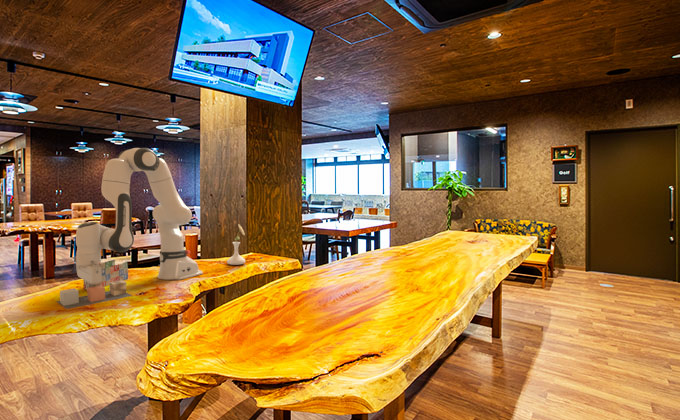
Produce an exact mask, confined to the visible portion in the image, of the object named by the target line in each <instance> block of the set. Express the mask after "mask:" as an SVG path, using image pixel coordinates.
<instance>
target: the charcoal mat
mask: <svg viewBox="0 0 680 420" xmlns="http://www.w3.org/2000/svg"><path fill="white" fill-rule="evenodd" d="M129 297H133V294H130V293H128V292H127V291H126V293H125V294H120V295H115V296H114V295H112V294H110V290H109V291H105V299H104V300H99V301H94V302H90V301H89V300H88V299H87V295H82V296H79V303H75V304H70V305H65V306H64V305H62V304H61V303H60V300H56V303H58V304H59V305H60V306H61V307H63V308H64V309H65V310H70V309H75V308H81V307H84V306H89V305H93V304H99V303H104V302H108V301H114V300H118V299H123V298H129Z"/></svg>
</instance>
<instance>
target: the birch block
mask: <svg viewBox="0 0 680 420" xmlns="http://www.w3.org/2000/svg"><path fill="white" fill-rule="evenodd" d="M109 291H110V294H112V295H114V296H115V295H120V294H125V293H126V292H127V282H126V280H123V281H122V280H120V281H114V282H110V285H109Z"/></svg>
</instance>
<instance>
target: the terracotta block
mask: <svg viewBox="0 0 680 420" xmlns="http://www.w3.org/2000/svg"><path fill="white" fill-rule="evenodd" d="M105 289H106V288H105V287H103V286H101V285H100V286H95V287H89V288H87V290H86V293H87V295H86V296H87V299H88V300H89V301H90V302H94V301H99V300H104V299H105V292H106V290H105Z"/></svg>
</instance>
